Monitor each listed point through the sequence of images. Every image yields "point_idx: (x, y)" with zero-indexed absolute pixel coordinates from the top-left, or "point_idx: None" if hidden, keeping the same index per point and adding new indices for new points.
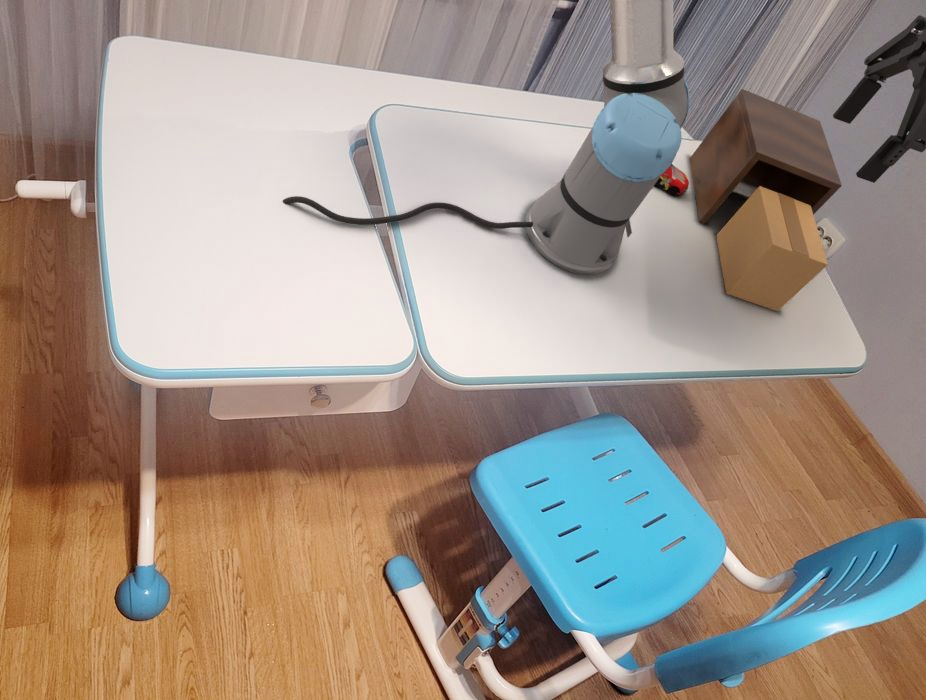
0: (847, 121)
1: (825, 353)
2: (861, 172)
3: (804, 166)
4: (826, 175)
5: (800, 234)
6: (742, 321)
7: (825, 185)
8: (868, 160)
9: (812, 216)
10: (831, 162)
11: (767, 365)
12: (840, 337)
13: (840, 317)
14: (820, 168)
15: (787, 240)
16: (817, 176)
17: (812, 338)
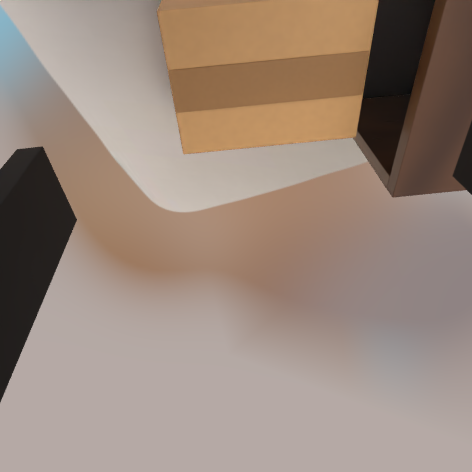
0: (461, 164)
1: (148, 168)
2: (5, 163)
3: (435, 107)
4: (416, 165)
5: (241, 98)
6: (118, 19)
7: (394, 163)
8: (3, 191)
9: (320, 137)
10: None
11: (47, 65)
12: (195, 193)
13: (235, 198)
14: (439, 152)
15: (199, 59)
16: (407, 141)
17: (165, 152)
